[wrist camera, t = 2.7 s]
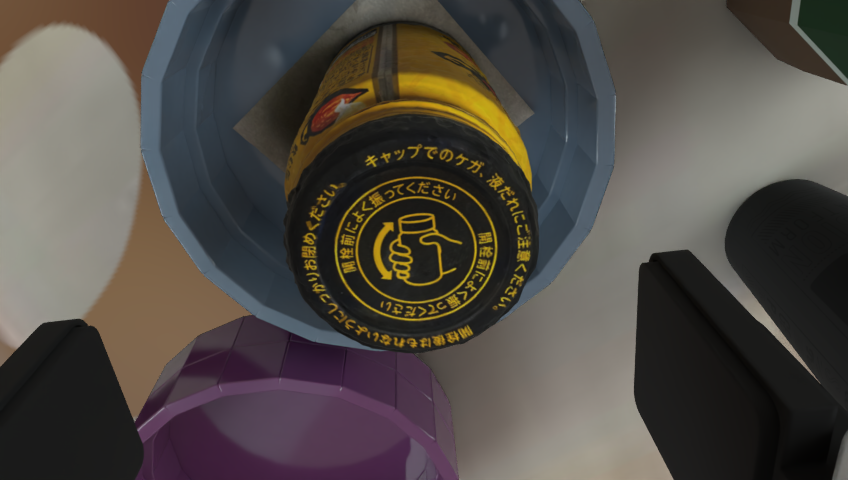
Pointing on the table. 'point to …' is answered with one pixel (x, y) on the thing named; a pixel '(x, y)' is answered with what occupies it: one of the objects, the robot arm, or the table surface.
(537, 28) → the slate bowl
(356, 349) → the plum bowl
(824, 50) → the beer bottle
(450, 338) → the condiment
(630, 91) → the table surface
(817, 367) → the drinking cup
